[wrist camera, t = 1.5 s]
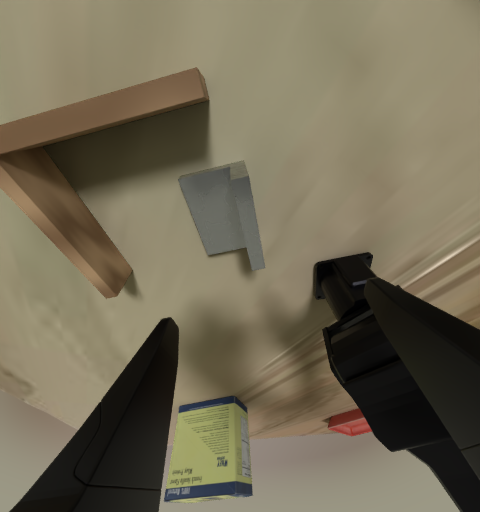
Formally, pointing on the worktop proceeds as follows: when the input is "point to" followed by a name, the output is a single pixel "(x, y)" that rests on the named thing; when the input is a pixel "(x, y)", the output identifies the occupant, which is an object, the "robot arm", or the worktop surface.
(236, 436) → the protein box
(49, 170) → the wooden corner frame
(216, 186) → the bracket
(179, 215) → the worktop surface
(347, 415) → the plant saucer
